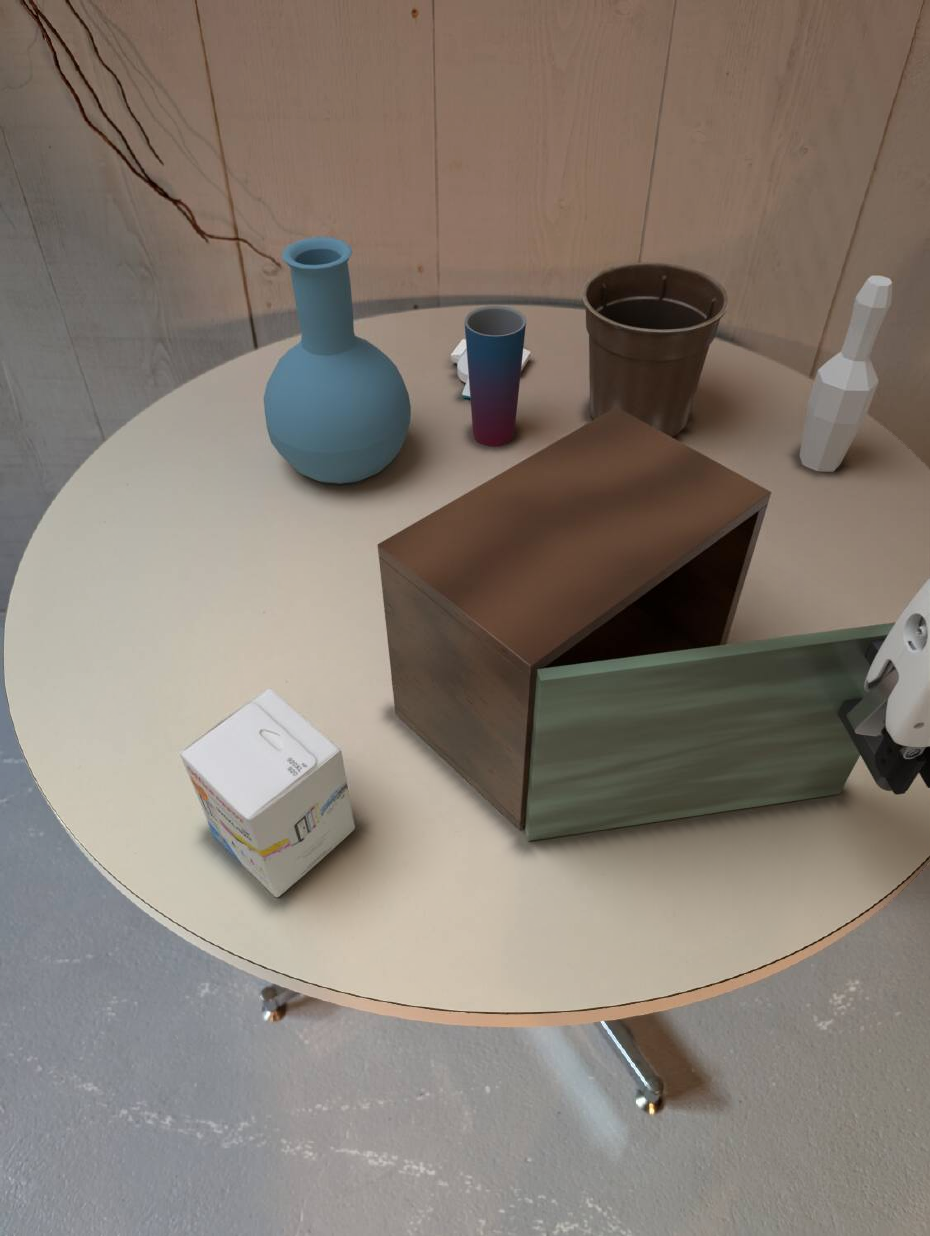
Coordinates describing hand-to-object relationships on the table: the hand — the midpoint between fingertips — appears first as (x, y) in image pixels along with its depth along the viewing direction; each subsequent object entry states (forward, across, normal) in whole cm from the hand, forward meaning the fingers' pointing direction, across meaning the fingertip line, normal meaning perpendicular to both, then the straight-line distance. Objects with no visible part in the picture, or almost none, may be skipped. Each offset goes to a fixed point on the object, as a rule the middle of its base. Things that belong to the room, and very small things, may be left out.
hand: (906, 772), depth 60 cm
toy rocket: (+15, -15, +77) cm, 80 cm away
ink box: (+15, -43, +10) cm, 46 cm away
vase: (+15, -35, +60) cm, 71 cm away
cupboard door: (+14, -10, +4) cm, 18 cm away
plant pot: (+15, +1, +63) cm, 65 cm away
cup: (+15, -17, +62) cm, 66 cm away
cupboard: (+15, -17, +22) cm, 31 cm away
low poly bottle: (+15, +20, +51) cm, 56 cm away
